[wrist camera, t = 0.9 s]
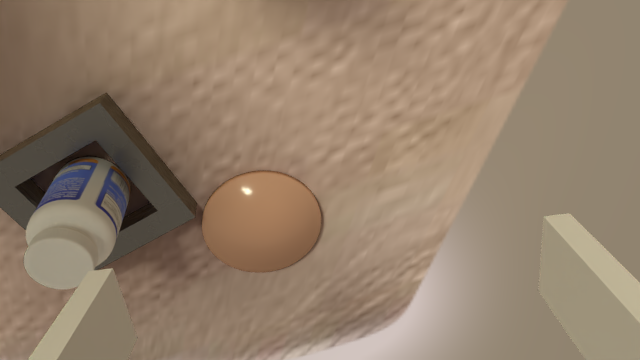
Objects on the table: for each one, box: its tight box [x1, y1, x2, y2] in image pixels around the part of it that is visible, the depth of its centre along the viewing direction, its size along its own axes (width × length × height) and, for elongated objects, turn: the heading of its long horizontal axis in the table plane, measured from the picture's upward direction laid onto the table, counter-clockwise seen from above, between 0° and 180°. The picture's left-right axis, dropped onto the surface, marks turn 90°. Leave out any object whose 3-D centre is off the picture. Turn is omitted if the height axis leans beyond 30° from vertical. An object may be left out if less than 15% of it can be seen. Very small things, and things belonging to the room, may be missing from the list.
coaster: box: [202, 171, 321, 272], centre depth 42 cm, size 10×10×1 cm
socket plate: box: [0, 93, 197, 270], centre depth 38 cm, size 11×11×2 cm
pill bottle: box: [24, 157, 130, 289], centre depth 34 cm, size 5×5×10 cm
